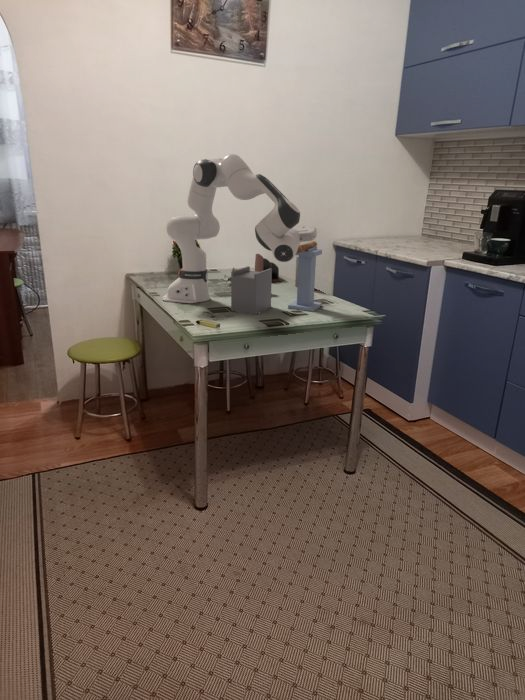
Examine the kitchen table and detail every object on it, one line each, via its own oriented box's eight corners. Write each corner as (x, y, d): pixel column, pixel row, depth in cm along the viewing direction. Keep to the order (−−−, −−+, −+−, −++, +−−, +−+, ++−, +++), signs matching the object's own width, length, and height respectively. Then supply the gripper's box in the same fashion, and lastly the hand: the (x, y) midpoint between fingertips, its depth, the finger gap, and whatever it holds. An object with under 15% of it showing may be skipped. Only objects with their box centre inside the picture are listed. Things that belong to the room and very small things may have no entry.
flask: (304, 291, 265) (305, 256, 259) (293, 285, 277) (294, 252, 272) (310, 290, 266) (312, 256, 260) (299, 285, 279) (300, 252, 273)
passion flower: (243, 294, 278) (251, 279, 270) (225, 292, 273) (233, 277, 264) (238, 280, 284) (246, 264, 276) (220, 278, 279) (228, 262, 271)
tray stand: (255, 314, 217) (256, 274, 212) (231, 311, 222) (231, 271, 216) (270, 306, 231) (271, 268, 225) (247, 303, 236) (247, 266, 230)
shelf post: (313, 311, 224) (316, 250, 215) (287, 308, 229) (290, 248, 220) (321, 305, 234) (325, 247, 226) (297, 302, 239) (299, 245, 230)
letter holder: (261, 282, 286) (262, 257, 282) (254, 275, 305) (254, 252, 300) (278, 281, 289) (279, 256, 284) (270, 275, 307) (270, 251, 302)
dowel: (300, 253, 211) (299, 246, 210) (293, 253, 212) (292, 246, 211) (317, 247, 230) (316, 240, 229) (311, 247, 231) (310, 241, 230)
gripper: (315, 230, 194) (317, 219, 205) (263, 234, 198) (268, 224, 210) (316, 245, 197) (319, 234, 208) (265, 249, 201) (270, 238, 213)
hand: (293, 229), depth 209 cm, fingers open, 8 cm apart
